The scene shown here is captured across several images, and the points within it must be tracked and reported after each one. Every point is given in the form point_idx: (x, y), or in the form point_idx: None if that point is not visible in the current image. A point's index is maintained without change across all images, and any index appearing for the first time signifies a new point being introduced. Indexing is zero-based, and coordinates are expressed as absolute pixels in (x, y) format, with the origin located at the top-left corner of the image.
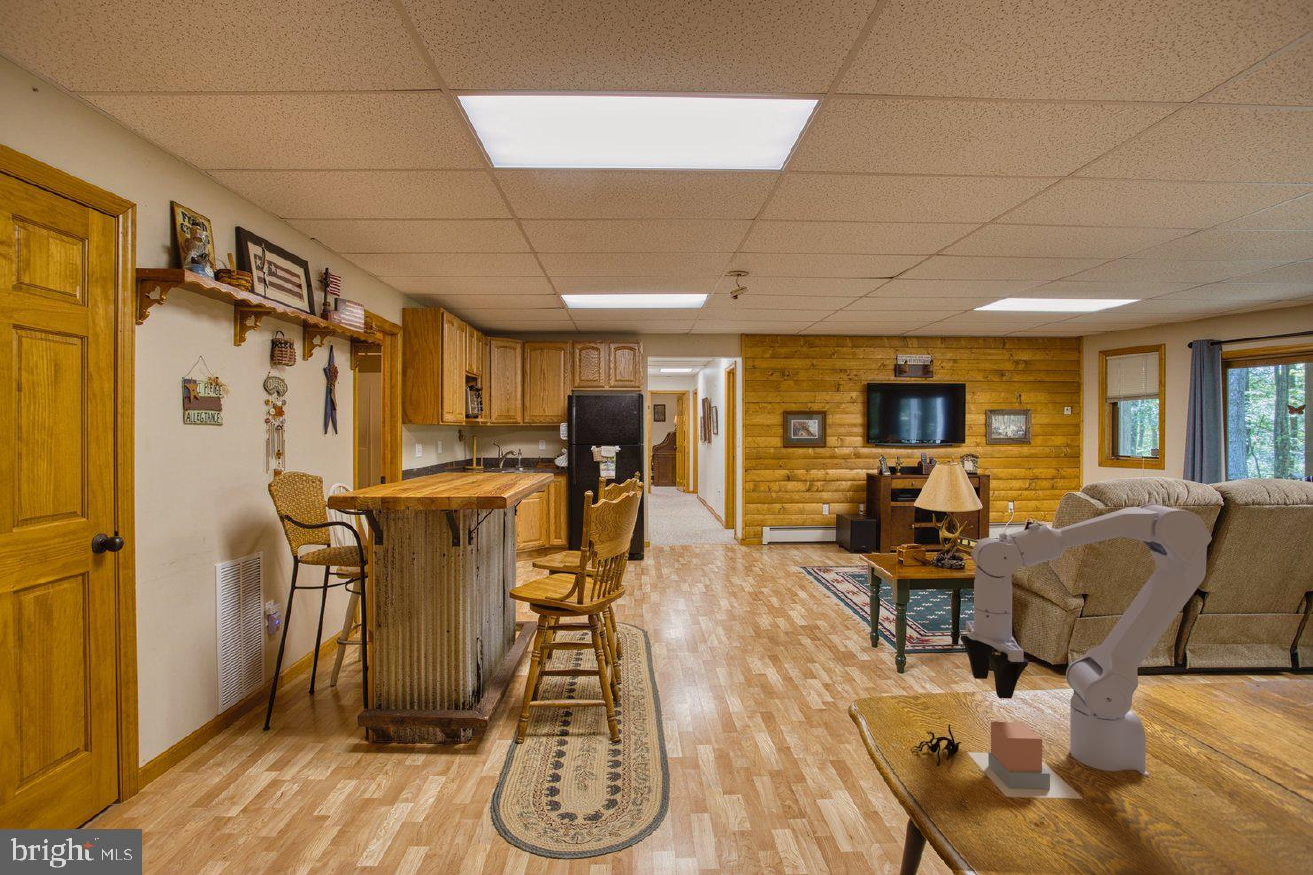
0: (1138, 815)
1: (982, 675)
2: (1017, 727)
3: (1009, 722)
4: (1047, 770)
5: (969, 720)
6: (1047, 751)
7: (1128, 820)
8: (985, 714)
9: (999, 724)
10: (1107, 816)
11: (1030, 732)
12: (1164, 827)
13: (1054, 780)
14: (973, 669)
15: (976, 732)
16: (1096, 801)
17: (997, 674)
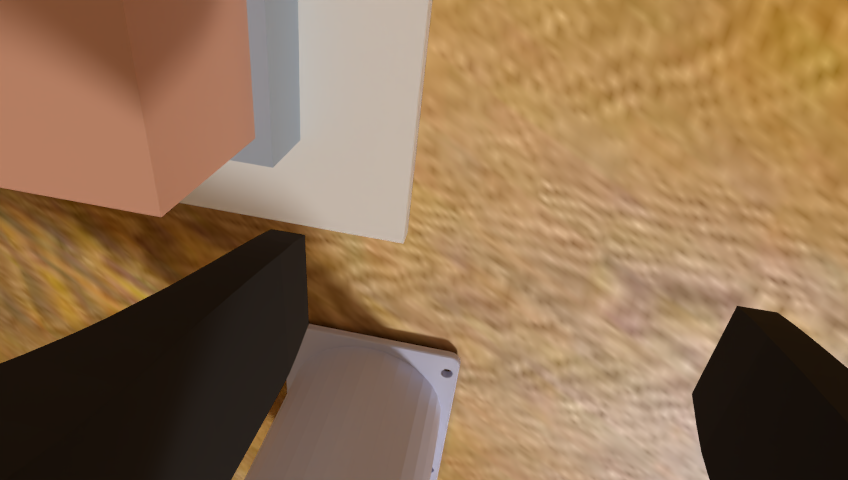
0: (101, 287)
1: (719, 389)
2: (71, 129)
3: (138, 125)
4: (280, 203)
5: (802, 188)
6: (454, 314)
7: (66, 244)
8: (818, 303)
9: (86, 22)
10: (69, 202)
11: (24, 167)
12: (61, 304)
13: (209, 177)
14: (791, 365)
15: (673, 140)
16: (147, 232)
17: (10, 367)
